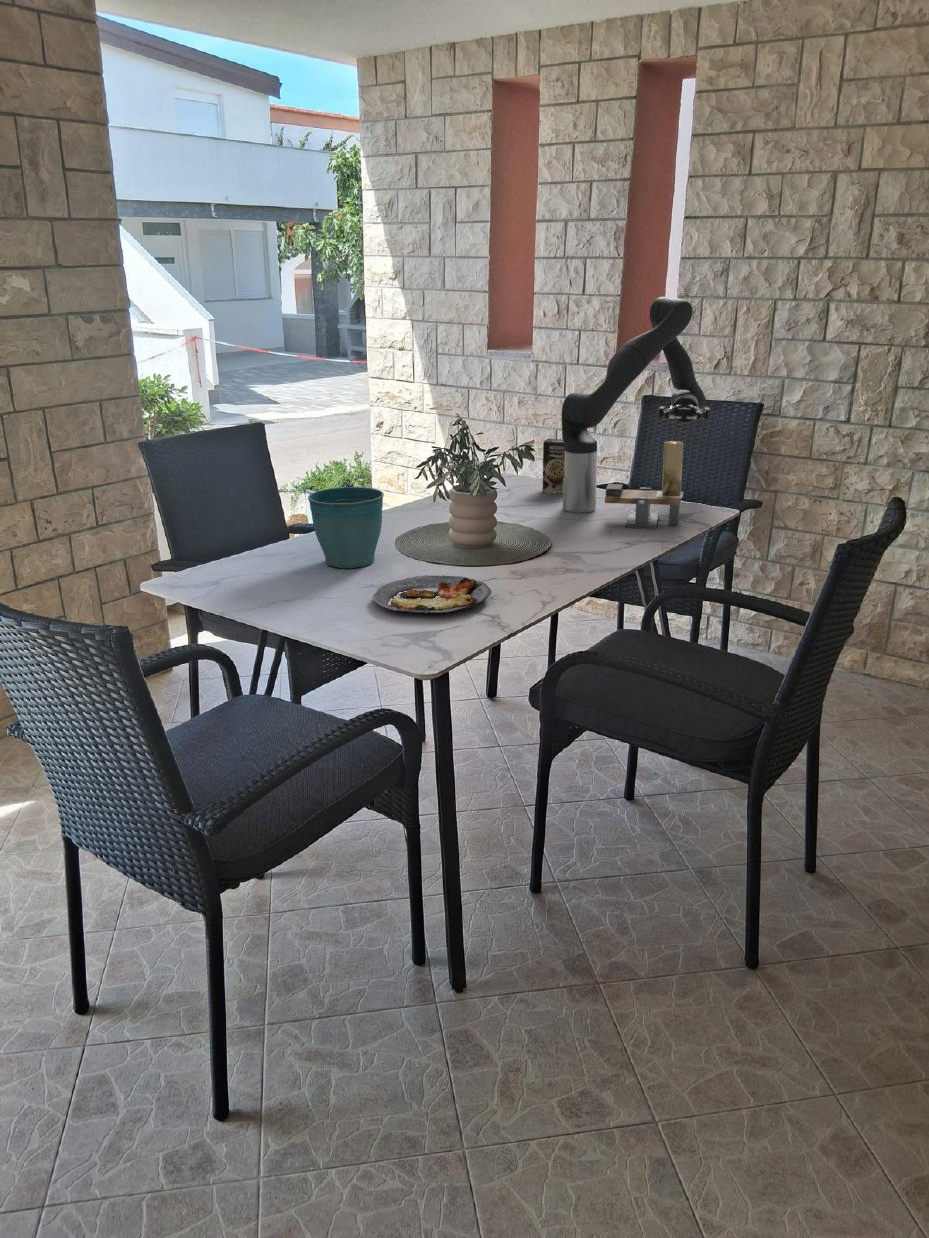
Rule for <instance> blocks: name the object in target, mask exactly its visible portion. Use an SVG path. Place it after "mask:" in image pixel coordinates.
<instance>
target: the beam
mask: <svg viewBox="0 0 929 1238" xmlns="http://www.w3.org/2000/svg"><path fill="white" fill-rule="evenodd" d="M623 488H624V485H623V483H620V484H619V483H616V484H615V483H608V484H607V486H606V488H605V496H604V504H623V505H625V504H626V505H627V504H628V505H630V504H631V505H636V497H648V504H650V505H660V506H661V505H664V506H665V505H666V506H670V505H680V506H681V501H682V499H683V497H684V491H682V490H681V495H679V496H664V495H662V490H652V489H651V490H640V489H623Z"/></svg>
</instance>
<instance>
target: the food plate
mask: <svg viewBox="0 0 929 1238" xmlns="http://www.w3.org/2000/svg"><path fill="white" fill-rule="evenodd" d="M413 589H417V590H413ZM418 589H419V590H418ZM428 589H432V590H428ZM433 589H435V590H434V591H433ZM436 589H437V591H436ZM404 591H407V592H404ZM399 592H403V593H401V594H399V596H400V598H398V597H397V598H394V596H397V594H398V593H399ZM491 594H492V590H491V588H490V587H489V586H488V584H486V583H485V582H484V581H480V580H477V578H475V579H474V578H468V577H465V576H461V575H460V576H455V575H427V574H425V575H418V576H412V577H407V578H403V579H399V580H393V581H391V582H388V583H386V584H384V585H381V586H380V587H379V588H378V589H377V591H376V592H374V594H373V595H372V598H373V600H374V602H375V603H376V604H378V605H379V606H381V607H383V608H386V609H388V610H392V611H399V612H407V613H425V614H427V615H428V613H435V614H436V613H437V614H440V613H442V614H443V613H445V614H446V613H454V612H458V611H462V610H467V609H470V608H473V607H476V606H477V605H478V606H479V605H481V604H482V603H483V602H484V601H485V600H486V599H487V598H489V596H490V595H491ZM436 596H440V597H438V598H441V599H438V598H437V599H436V598H435V597H436ZM401 597H406V598H416V599H406V598H401ZM391 598H392V599H393V600H392V601H391V605H388V602H389V601H390V599H391ZM417 598H421V599H417ZM433 598H435V599H433Z"/></svg>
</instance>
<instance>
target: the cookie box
mask: <svg viewBox="0 0 929 1238" xmlns="http://www.w3.org/2000/svg"><path fill="white" fill-rule="evenodd" d="M542 443H543V446H542V448H543V449H542V493H543V492H557V493H556V494H562V493H563V478H564V477H565V445H564V442H563V439H562V438H558V439H557V438H547V439H545V440H544V441H543V442H542Z"/></svg>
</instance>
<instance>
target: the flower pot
mask: <svg viewBox="0 0 929 1238" xmlns="http://www.w3.org/2000/svg"><path fill="white" fill-rule="evenodd" d="M383 499H384V492H383V491H381V490H380V489H377V488H372V487H366V486H344V487H343V486H341V487H332V488H324V489H320V490H317V491H313V492H311V493H310V494H309V495H308V496H307V500H308V501H309V508H310V512H311V518H312V523H313V524H312V525H313V530H314V532H315V535H316V539H317V541H318V543H319V545H320V548H321V550H322V553H323V555H324V557H325V560H324V561H326V562H325V564H326V563H327V564H326V565H328V566H329V565H331V566H330V567H332V566H333V567H332V568H337V567H338V569H354V568H356V569H357V568H362V567H365V566H369V565H370V564H372V563H373V562H375V553H376V550H377V549H376V548H377V546H378V542H379V539H380V535H381V531H382V523H383V505H384V504H383V502H384V501H383Z"/></svg>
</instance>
